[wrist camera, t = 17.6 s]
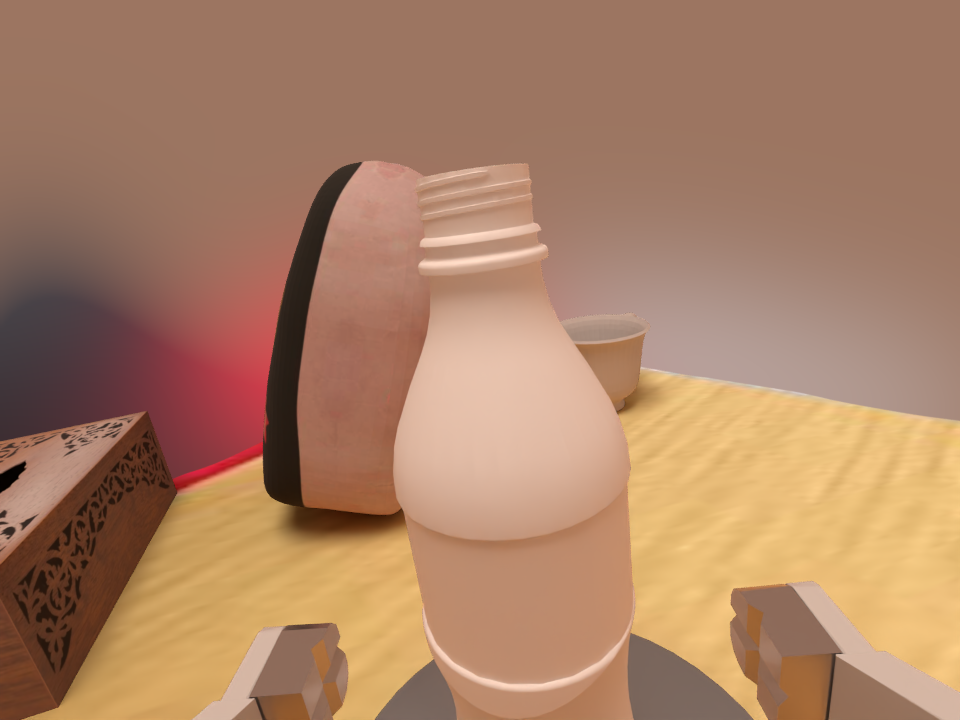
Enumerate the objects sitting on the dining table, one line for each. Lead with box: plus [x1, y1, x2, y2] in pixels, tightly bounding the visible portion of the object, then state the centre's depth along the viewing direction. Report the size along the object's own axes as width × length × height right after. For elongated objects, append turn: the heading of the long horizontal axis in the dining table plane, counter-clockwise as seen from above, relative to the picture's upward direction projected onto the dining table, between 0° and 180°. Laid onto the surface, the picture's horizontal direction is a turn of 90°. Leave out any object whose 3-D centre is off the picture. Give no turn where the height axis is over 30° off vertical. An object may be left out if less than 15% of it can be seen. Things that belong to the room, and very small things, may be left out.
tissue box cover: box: [0, 411, 177, 720], centre depth 38 cm, size 26×14×10 cm, turn 17°
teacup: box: [560, 313, 650, 411], centre depth 60 cm, size 12×15×10 cm
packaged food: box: [263, 161, 431, 515], centre depth 46 cm, size 22×20×30 cm
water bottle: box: [393, 163, 635, 720], centre depth 16 cm, size 7×7×25 cm
